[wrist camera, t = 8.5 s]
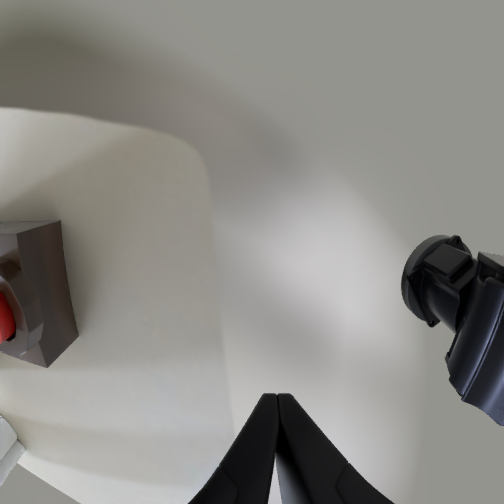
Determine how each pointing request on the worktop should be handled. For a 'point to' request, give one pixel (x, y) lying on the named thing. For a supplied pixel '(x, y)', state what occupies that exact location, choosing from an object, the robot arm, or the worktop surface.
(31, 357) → the switch block
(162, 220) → the worktop surface
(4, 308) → the led button
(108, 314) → the worktop surface
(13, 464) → the vase
